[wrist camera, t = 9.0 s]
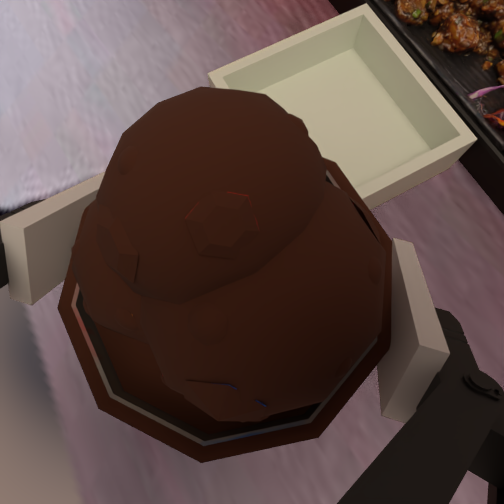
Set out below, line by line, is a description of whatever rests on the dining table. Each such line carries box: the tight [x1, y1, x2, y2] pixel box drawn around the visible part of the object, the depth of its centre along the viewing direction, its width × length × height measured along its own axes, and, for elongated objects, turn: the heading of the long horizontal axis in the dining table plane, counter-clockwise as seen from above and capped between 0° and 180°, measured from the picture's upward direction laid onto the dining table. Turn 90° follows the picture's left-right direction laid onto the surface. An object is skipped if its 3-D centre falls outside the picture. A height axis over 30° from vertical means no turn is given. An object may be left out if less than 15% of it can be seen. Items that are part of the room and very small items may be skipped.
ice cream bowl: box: [58, 87, 392, 463], centre depth 14 cm, size 11×11×15 cm
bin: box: [208, 3, 477, 210], centre depth 36 cm, size 17×17×5 cm
